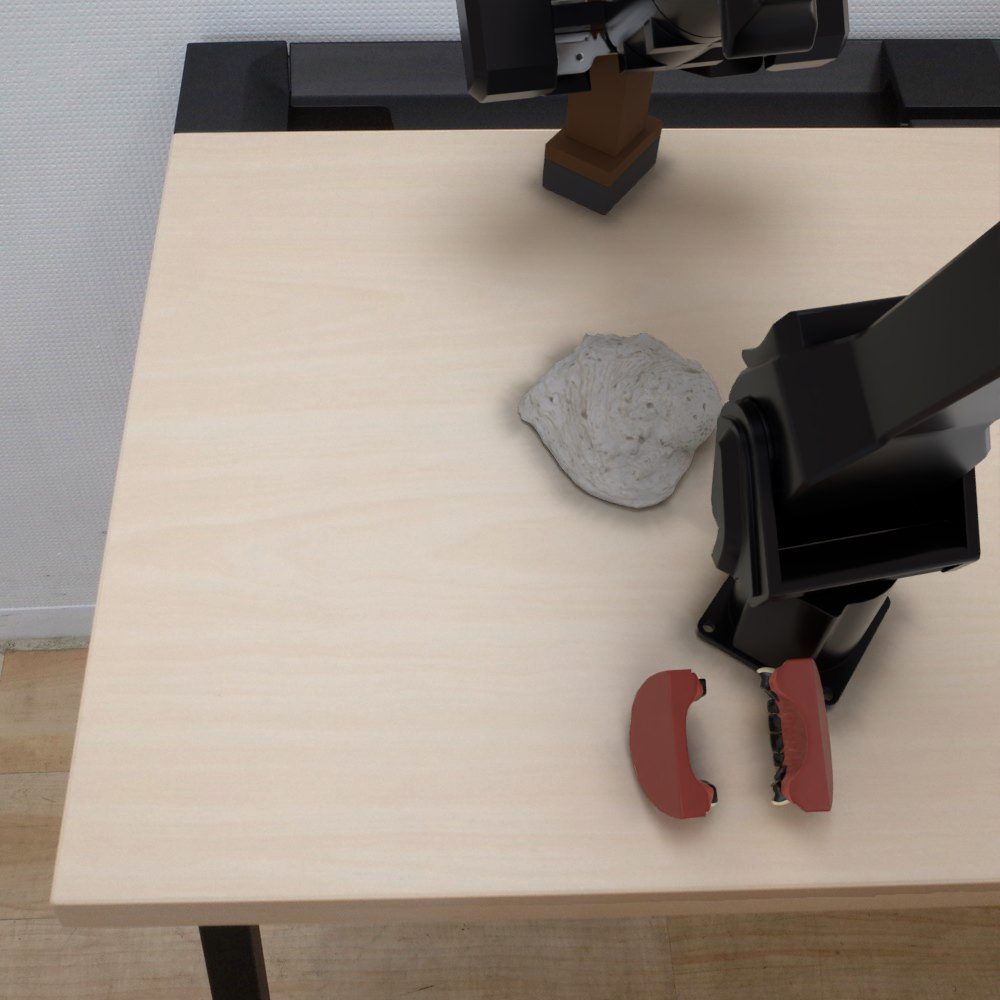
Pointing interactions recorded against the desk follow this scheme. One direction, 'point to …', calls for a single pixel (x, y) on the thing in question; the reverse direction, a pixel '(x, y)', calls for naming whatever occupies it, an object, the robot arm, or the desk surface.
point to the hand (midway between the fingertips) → (606, 54)
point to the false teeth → (796, 747)
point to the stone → (624, 416)
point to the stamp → (604, 138)
